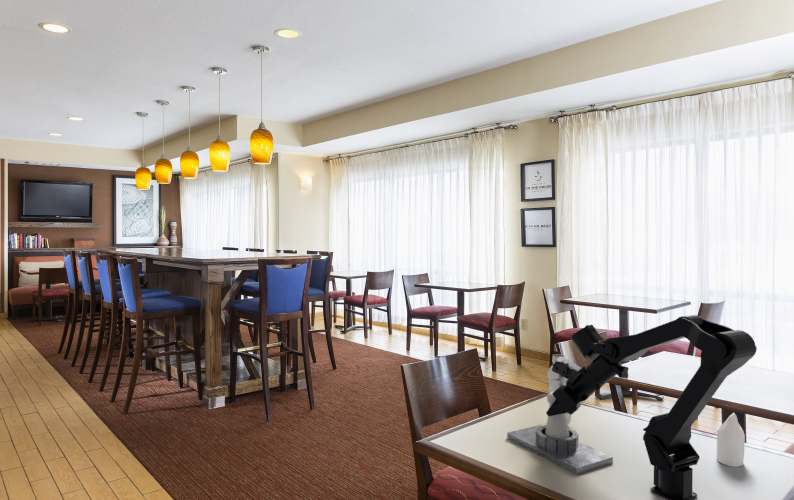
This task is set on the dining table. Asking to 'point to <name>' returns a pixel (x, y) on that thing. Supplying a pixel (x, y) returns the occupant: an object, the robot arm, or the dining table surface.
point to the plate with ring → (561, 449)
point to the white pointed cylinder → (730, 442)
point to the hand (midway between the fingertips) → (551, 411)
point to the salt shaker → (556, 422)
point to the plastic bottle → (557, 383)
